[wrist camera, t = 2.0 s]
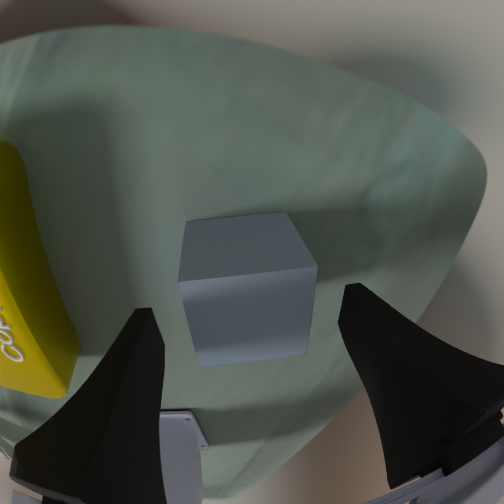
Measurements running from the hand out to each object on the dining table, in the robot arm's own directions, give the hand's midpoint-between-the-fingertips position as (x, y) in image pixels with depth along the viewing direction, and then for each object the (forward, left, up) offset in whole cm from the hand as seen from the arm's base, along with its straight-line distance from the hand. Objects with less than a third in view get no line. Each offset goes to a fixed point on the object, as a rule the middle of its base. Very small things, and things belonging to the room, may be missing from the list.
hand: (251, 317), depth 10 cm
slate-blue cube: (0, 0, -4) cm, 4 cm away
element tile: (+1, +18, -5) cm, 18 cm away
